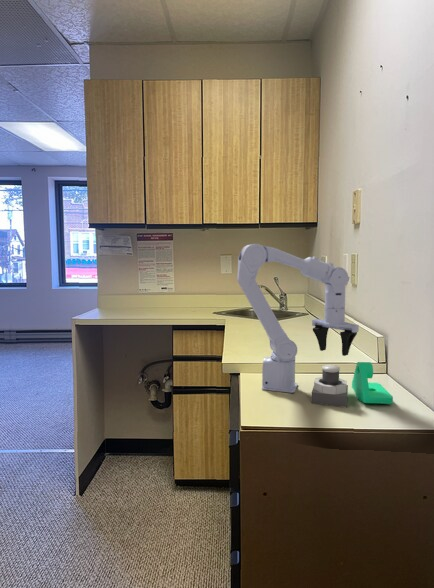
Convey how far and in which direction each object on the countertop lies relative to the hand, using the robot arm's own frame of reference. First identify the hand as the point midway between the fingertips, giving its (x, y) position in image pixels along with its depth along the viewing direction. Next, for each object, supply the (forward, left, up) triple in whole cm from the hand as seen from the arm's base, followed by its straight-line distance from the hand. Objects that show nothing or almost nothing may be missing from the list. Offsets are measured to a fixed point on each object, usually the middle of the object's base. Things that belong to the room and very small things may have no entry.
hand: (333, 352), depth 117 cm
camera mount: (+11, -6, -11) cm, 17 cm away
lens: (0, -11, -7) cm, 13 cm away
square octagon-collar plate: (0, -11, -10) cm, 15 cm away
